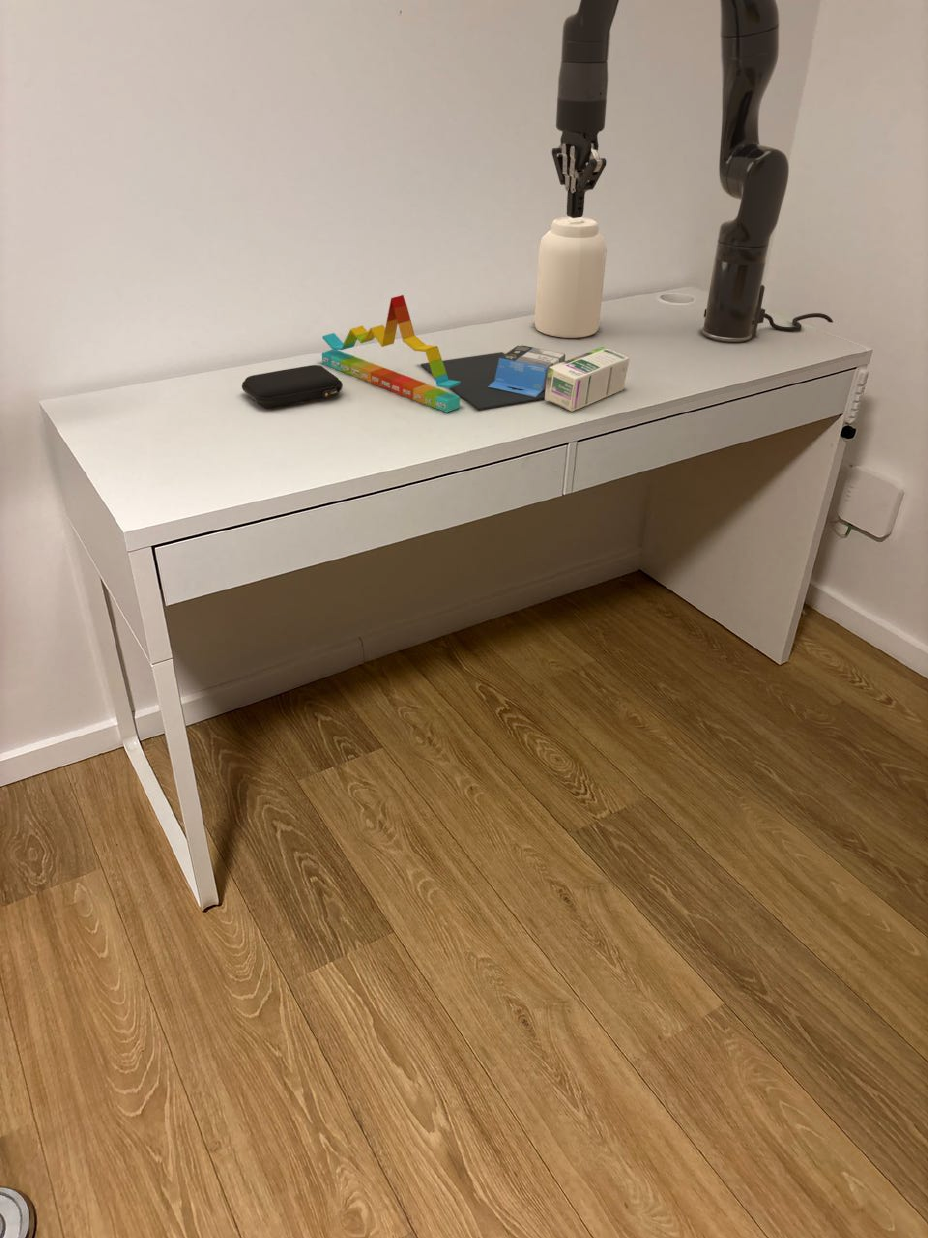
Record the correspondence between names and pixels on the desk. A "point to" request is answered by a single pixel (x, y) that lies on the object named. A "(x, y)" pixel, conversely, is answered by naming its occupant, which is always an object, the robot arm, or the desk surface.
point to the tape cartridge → (525, 369)
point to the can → (570, 278)
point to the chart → (385, 376)
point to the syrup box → (586, 378)
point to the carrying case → (292, 386)
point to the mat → (481, 382)
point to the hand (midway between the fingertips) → (574, 216)
